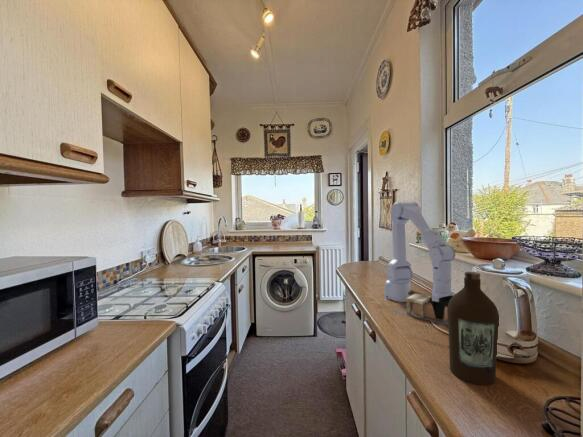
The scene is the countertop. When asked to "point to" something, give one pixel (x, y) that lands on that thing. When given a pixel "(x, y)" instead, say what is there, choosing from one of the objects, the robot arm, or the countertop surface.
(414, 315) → the board
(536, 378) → the countertop surface
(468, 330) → the olive oil
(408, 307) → the wooden tunnel
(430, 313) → the terracotta block
